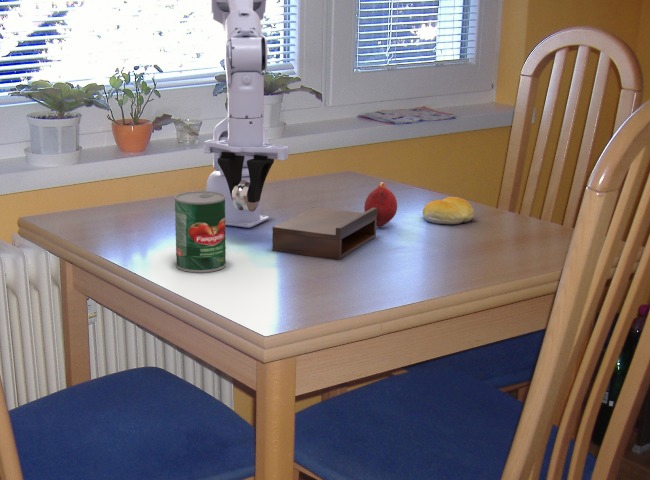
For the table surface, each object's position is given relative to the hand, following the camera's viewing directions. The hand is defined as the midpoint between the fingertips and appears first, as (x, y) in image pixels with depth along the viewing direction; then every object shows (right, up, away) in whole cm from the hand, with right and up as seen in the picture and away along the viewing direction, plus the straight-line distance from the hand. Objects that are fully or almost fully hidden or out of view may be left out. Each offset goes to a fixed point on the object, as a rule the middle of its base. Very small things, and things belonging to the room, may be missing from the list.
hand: (245, 200), depth 169 cm
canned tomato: (-7, -12, -8) cm, 16 cm away
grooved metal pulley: (0, -2, +1) cm, 2 cm away
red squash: (+24, -2, +14) cm, 28 cm away
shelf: (+13, -7, +4) cm, 16 cm away
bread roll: (+37, 0, +19) cm, 42 cm away
